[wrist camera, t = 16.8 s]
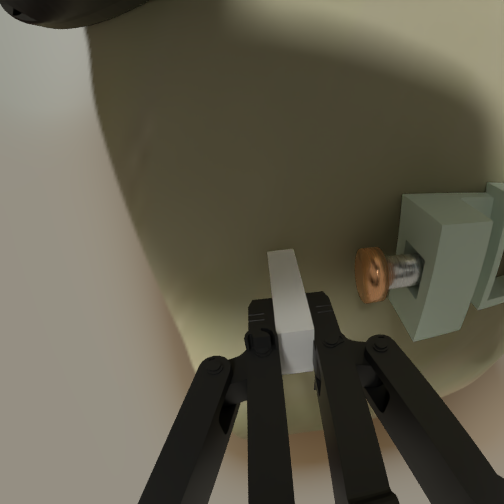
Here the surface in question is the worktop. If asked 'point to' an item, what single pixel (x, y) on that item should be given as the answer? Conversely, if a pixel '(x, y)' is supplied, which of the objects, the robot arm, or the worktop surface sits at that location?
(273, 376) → the robot arm
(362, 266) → the lock pin
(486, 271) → the dock
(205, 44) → the worktop surface
